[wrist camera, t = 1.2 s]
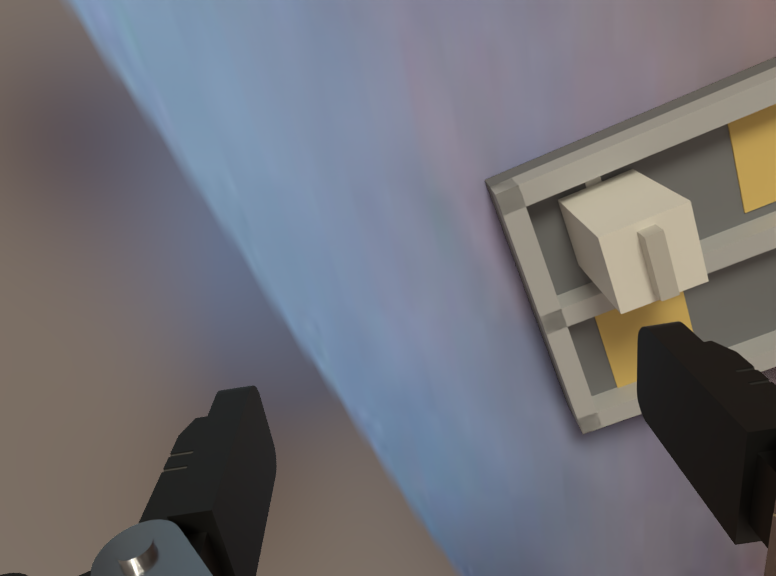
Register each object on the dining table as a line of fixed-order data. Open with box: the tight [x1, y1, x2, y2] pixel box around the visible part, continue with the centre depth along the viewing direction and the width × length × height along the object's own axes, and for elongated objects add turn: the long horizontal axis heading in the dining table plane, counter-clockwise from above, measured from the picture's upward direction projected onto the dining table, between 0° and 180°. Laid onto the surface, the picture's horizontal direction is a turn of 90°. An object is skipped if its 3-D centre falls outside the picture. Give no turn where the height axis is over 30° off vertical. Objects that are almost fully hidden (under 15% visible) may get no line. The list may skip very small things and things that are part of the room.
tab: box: [558, 169, 709, 314], centre depth 28 cm, size 4×4×7 cm
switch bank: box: [485, 57, 776, 434], centre depth 32 cm, size 20×16×3 cm
